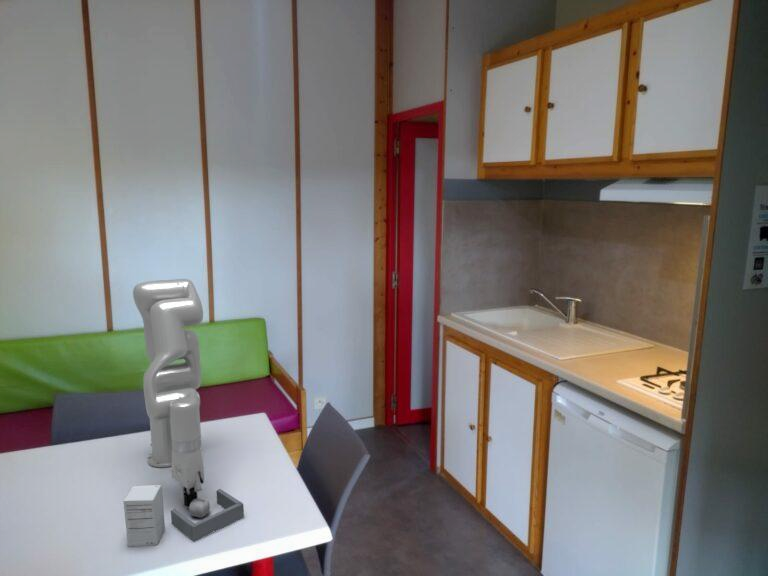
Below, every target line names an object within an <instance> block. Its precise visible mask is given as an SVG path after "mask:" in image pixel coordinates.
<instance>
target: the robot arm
mask: <svg viewBox="0 0 768 576" xmlns="http://www.w3.org/2000/svg"><path fill="white" fill-rule="evenodd" d="M132 297H133V302H134V304H135V306H136V309H137V311H138V312H139V314H140V316H141V318H142V322H143V332H144V344H145V352H146V356H147V359H148V360H149V361H150V362H151V364H150V365H149V366H148V368H147V370H146V371H145V372H144V374H143V377H142V381H143V386H142V387H143V396H144V402H145V403H144V405H145V410H146V414H147V416H148V418H149V429H150V442H151V443H150V447H151V453H150V454H149V455H148V457H147V463H148V465H150V466H151V467H154V468H170V467H171V477H172V479H173V480H174V481H175V482H177V483H178V484H180V485H181V488H182V492H183V494H182V495H183V505H184V506H185V507H186V508H187V509H189V505H190V503H191V502H192V501H193V500H194V499H197V498H198V492H200V491H202V485H203V484H204V483H205V467H204V460H203V454H202V450H201V449H202V446H203V444H202V432H201V431H202V430H201V416H200V414H201V413H200V407H201V396H200V393H199V392H198V391H197V389H199V388H200V386H201V385H202V367H201V364H202V363H201V355H200V345H199V344H200V342H199V338H198V335H197V333H196V331H194V330H193V329H190V328H184V327H193V326H198V325H201V323H202V322H203V319H204V310H203V306H202V301H201V299H200V296H199V293H198V291H197V290H196V287H195V284H194V283H193V281H192V280H190V279H187V278H177V279H176V278H175V279H174V278H173V279H163V280H162V279H161V280H151V281H150V280H149V281H143V282H140V283H136V285H135V286H134V287H133V289H132ZM178 360H184V361H183V362H177V363H173V362H175V361H178Z"/></svg>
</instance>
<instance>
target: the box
mask: <svg viewBox="0 0 768 576" xmlns="http://www.w3.org/2000/svg"><path fill="white" fill-rule="evenodd" d="M216 503H218V504H217V505H219V506H220V505H221V508H223V507H224V509H223V510H221V511H218V512H216V513H215V514H211V515H210V516H208V517H205V518H203V519H201V520H199V521H197V522H194V521H192V520H191V519H189V518H188V517H187V516H186V515H184V514H183V513H182V512H180V511H179V510H178V509H176V508H173V509H171V510H170V518H171V520H170V521H171V525H172V524H173V525H172V526H173V527H175V528H176V529H177V530H178V531H180V532H181V533H182V534H183V535H184V536H185V537H187V536H188V537H187V538H188V539H190V540H191V541H192V540H193V541H192V542H196V541H199V540H201V539H202V537H203V538H205V537H206V535H207V536H209V535H210V533H211V534H213V533H214V532H213V531H215V532H217V531H218V529H219V530H221V529H222V527H223V528H225V527H227V526H229V525H231V524H232V523H235V522H237V521H239V520H241V519H243V518H245V513H244V511H245V510H244V503H243V502H242V501H240V500H239V499H237V498H236V497H234V496H233V495H231V494H229V493H228V492H226V491H224V490H223V489H222V488H218V489H216ZM236 520H237V521H236ZM224 526H225V527H224ZM220 528H221V529H220ZM216 530H217V531H216ZM212 532H213V533H212ZM208 534H209V535H208ZM204 536H205V537H204ZM200 538H201V539H200Z"/></svg>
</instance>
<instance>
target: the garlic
mask: <svg viewBox="0 0 768 576" xmlns="http://www.w3.org/2000/svg"><path fill="white" fill-rule="evenodd" d="M210 507H211V505H210V501H209V500H208V499H207V498H206V497H205V498H204V497H197V499H194V500H193V501H192V502H191V503H190V505H189V507H188V511H189V513H190V515H191V516H192V517H195V518H200V519H201V518H203V517H204V516H206V515H207V514H208V513H209V512H210Z"/></svg>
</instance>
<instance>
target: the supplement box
mask: <svg viewBox="0 0 768 576" xmlns="http://www.w3.org/2000/svg"><path fill="white" fill-rule="evenodd" d="M123 509H124V510H123V511H124V521H125V530H126V539H127V547H150V546H158V545H159V543H160V540H161V537H162V535H163V534H164V532H165V529H166V526H165V525H166V524H165V512H164V511H165V510H164V500H163V490H162V485H161V484H151V485H149V484H148V485H134V486H132V487H131V489H130V490H129V492H128V494H127V495H126V497H125V498H124V500H123Z"/></svg>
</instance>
